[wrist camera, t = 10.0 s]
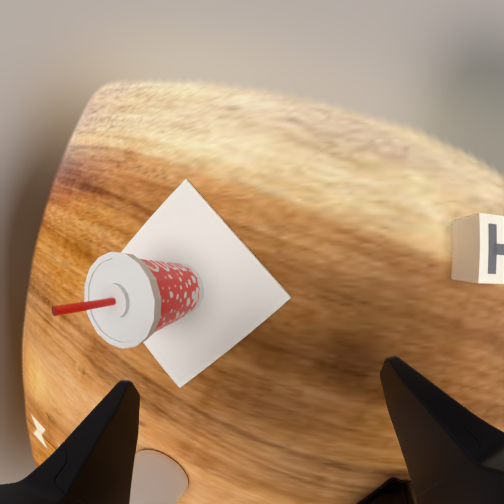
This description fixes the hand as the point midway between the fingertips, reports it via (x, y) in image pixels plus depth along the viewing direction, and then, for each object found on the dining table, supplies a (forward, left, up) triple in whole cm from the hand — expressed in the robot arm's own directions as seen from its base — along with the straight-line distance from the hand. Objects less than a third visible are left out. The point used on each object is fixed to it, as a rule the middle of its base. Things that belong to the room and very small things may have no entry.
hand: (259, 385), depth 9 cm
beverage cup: (-4, +9, -14) cm, 17 cm away
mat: (-4, +10, -15) cm, 18 cm away
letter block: (+13, -11, -15) cm, 22 cm away
